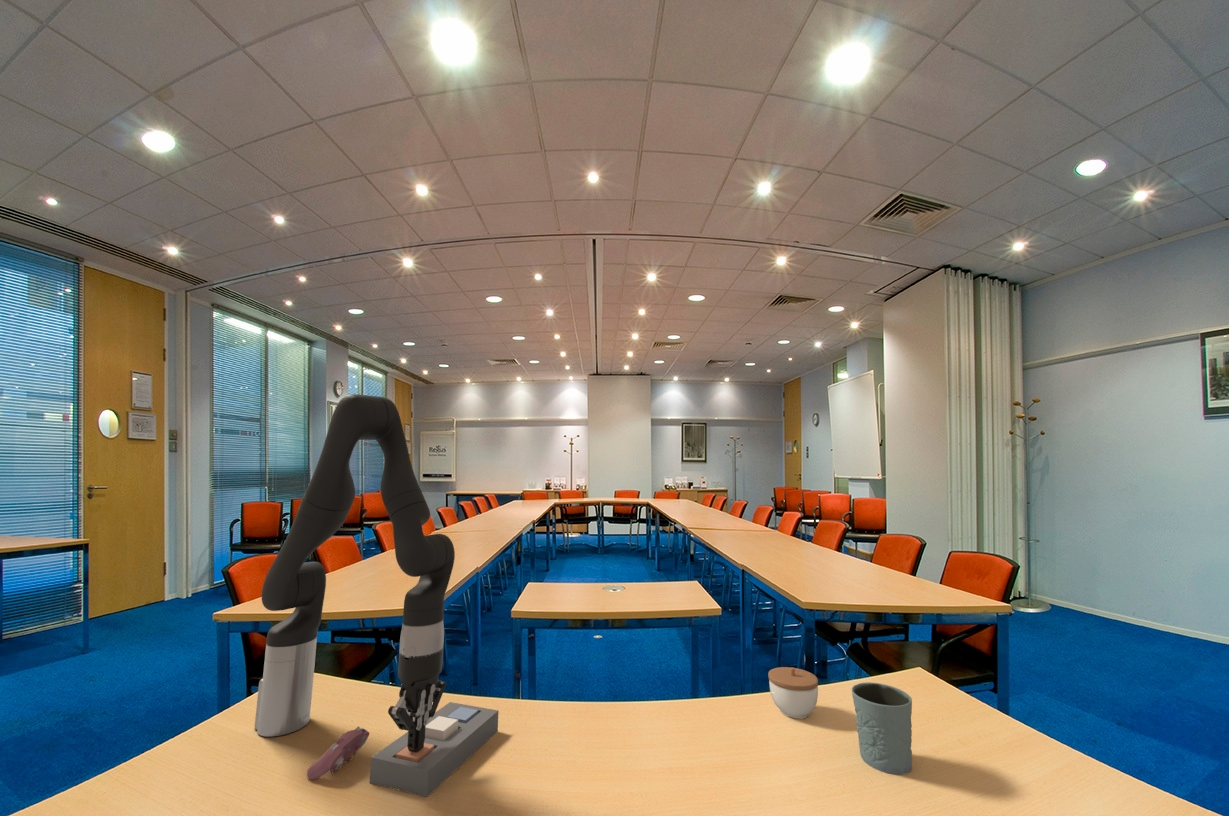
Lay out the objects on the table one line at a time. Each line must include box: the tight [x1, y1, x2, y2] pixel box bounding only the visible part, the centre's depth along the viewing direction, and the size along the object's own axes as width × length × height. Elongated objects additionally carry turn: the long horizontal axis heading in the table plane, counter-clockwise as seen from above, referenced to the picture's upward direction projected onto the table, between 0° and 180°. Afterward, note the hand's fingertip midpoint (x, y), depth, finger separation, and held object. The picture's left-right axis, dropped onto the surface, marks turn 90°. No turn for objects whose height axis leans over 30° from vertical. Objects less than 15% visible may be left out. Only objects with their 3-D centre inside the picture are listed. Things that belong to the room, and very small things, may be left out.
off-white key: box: [425, 716, 458, 742], centre depth 92 cm, size 4×4×2 cm
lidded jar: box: [768, 666, 819, 719], centre depth 110 cm, size 11×11×9 cm
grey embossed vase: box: [851, 681, 913, 775], centre depth 91 cm, size 10×10×12 cm
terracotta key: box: [396, 743, 434, 763], centre depth 86 cm, size 4×4×2 cm
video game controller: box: [306, 726, 370, 780], centre depth 88 cm, size 10×5×7 cm, turn 169°
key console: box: [369, 701, 499, 798], centre depth 92 cm, size 12×22×4 cm, turn 162°
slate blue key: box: [447, 707, 478, 723], centre depth 99 cm, size 4×4×2 cm
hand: (415, 749), depth 86 cm, fingers closed
